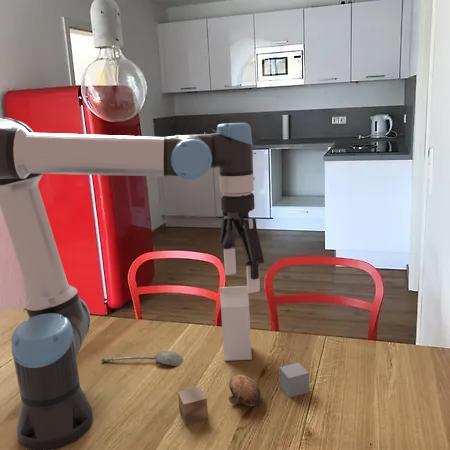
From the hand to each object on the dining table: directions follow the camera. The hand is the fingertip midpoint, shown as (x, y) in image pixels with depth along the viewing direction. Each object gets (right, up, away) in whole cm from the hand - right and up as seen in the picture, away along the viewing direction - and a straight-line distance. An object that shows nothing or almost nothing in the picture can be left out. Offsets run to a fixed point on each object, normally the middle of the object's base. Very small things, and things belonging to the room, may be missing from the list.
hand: (241, 282), depth 114 cm
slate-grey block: (+12, -24, -2) cm, 27 cm away
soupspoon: (-26, -23, +15) cm, 37 cm away
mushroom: (+1, -26, -6) cm, 27 cm away
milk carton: (0, -21, +15) cm, 26 cm away
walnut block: (-11, -27, -10) cm, 31 cm away
